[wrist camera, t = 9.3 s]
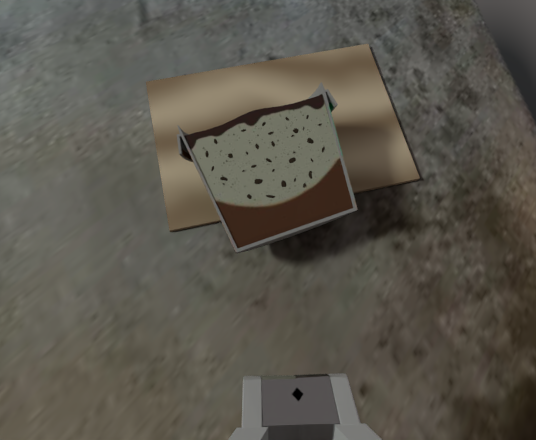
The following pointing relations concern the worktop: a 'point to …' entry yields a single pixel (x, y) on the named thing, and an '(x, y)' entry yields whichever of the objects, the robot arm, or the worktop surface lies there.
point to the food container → (273, 171)
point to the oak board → (272, 95)
